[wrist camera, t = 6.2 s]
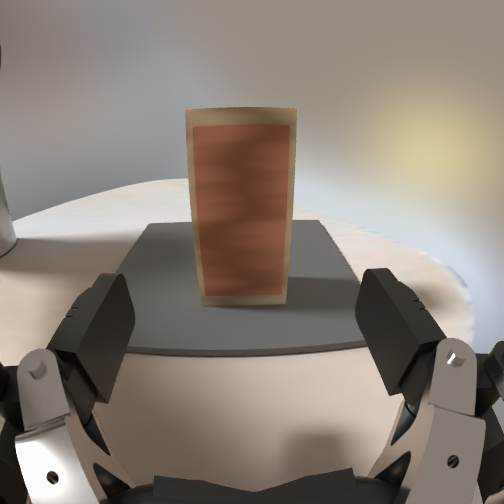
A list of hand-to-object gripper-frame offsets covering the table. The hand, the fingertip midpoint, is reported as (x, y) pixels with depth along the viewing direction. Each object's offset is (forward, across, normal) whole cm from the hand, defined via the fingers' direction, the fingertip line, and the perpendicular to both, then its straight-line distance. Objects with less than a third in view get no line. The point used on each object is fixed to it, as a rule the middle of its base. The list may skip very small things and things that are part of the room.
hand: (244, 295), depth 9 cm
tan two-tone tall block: (+10, 0, +7) cm, 12 cm away
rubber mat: (+14, +1, +8) cm, 16 cm away
